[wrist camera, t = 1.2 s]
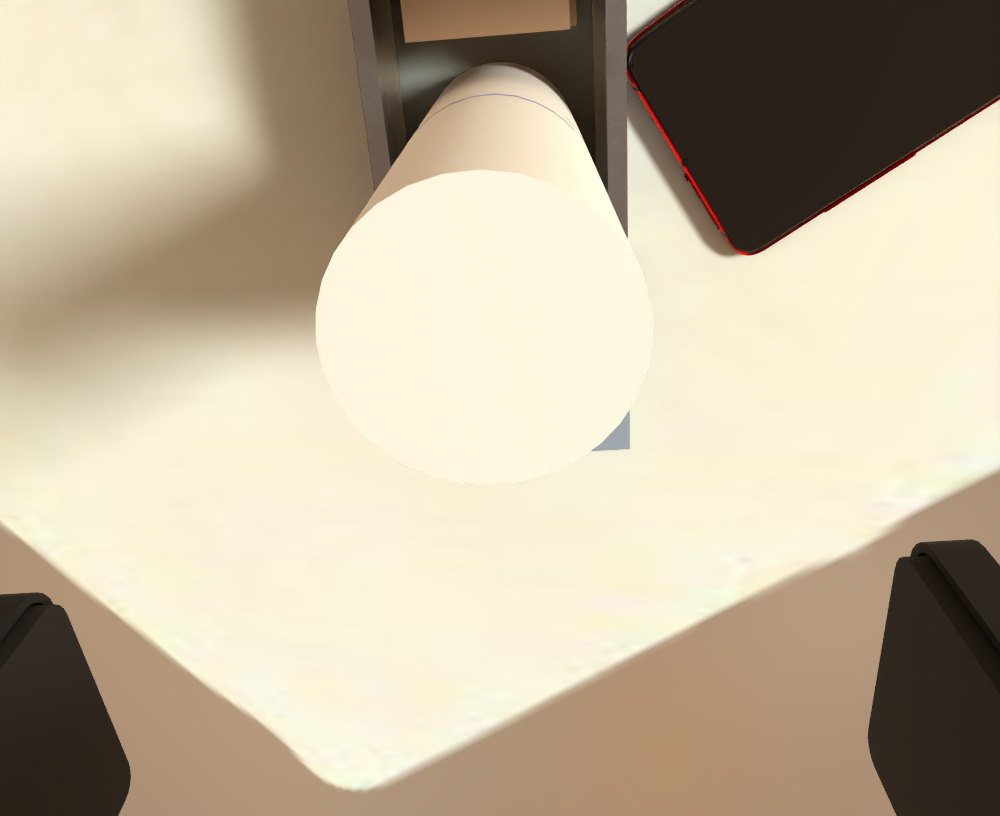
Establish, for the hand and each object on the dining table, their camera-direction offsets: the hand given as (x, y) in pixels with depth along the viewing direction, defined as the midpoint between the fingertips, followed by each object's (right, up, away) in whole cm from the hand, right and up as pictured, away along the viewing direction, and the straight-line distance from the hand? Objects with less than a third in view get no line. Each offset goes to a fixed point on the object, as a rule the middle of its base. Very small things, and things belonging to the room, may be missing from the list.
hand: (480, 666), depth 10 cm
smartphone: (+19, +22, +28) cm, 40 cm away
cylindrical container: (0, +16, +30) cm, 34 cm away
